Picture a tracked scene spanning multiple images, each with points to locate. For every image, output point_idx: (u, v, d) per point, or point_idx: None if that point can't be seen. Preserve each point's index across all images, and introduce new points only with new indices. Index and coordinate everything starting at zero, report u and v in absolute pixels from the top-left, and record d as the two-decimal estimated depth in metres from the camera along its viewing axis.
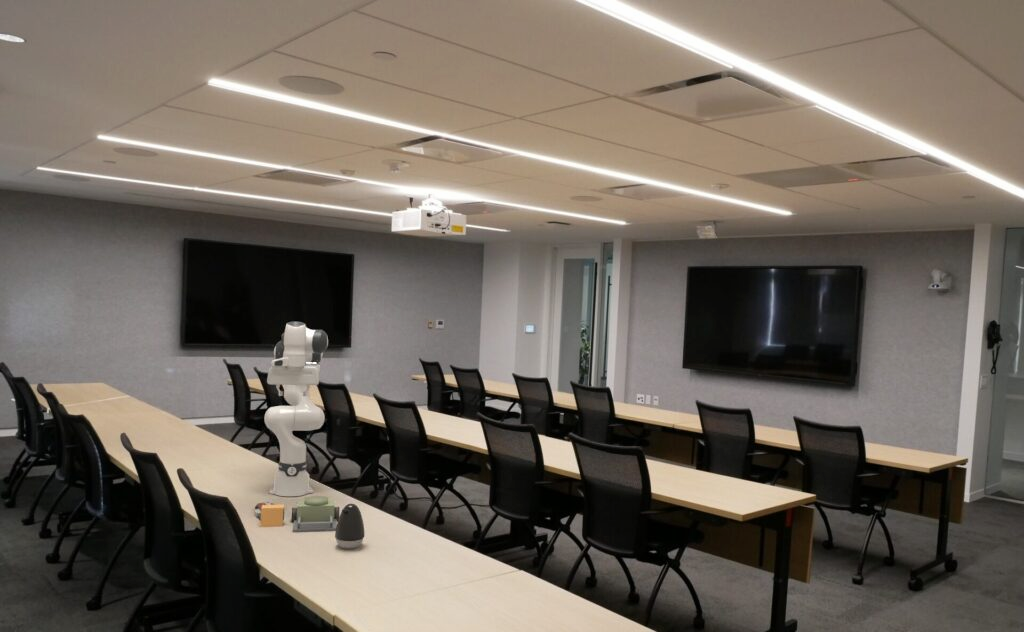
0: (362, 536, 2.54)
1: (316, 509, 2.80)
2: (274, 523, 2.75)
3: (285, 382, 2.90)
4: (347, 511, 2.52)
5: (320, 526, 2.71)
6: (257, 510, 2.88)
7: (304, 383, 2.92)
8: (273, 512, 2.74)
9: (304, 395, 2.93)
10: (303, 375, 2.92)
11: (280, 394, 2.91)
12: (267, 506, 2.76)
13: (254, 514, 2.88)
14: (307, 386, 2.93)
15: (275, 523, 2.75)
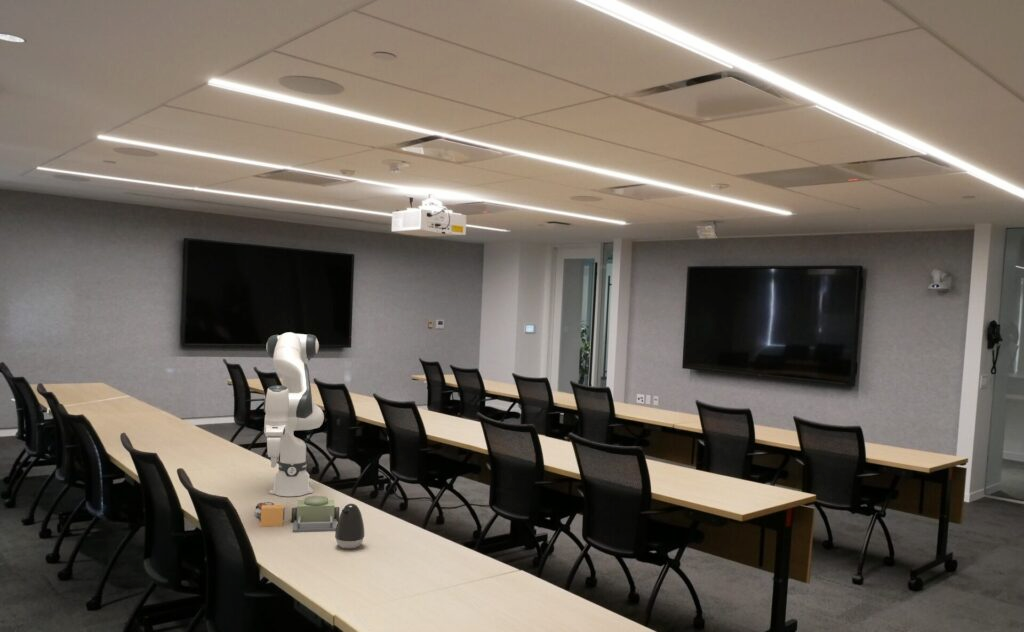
0: (362, 536, 2.54)
1: (316, 509, 2.80)
2: (274, 523, 2.75)
3: (279, 451, 2.74)
4: (347, 511, 2.52)
5: (320, 526, 2.71)
6: (257, 510, 2.88)
7: (281, 448, 2.81)
8: (273, 512, 2.74)
9: None
10: (280, 440, 2.81)
11: None
12: (267, 506, 2.76)
13: None
14: None
15: (275, 523, 2.75)
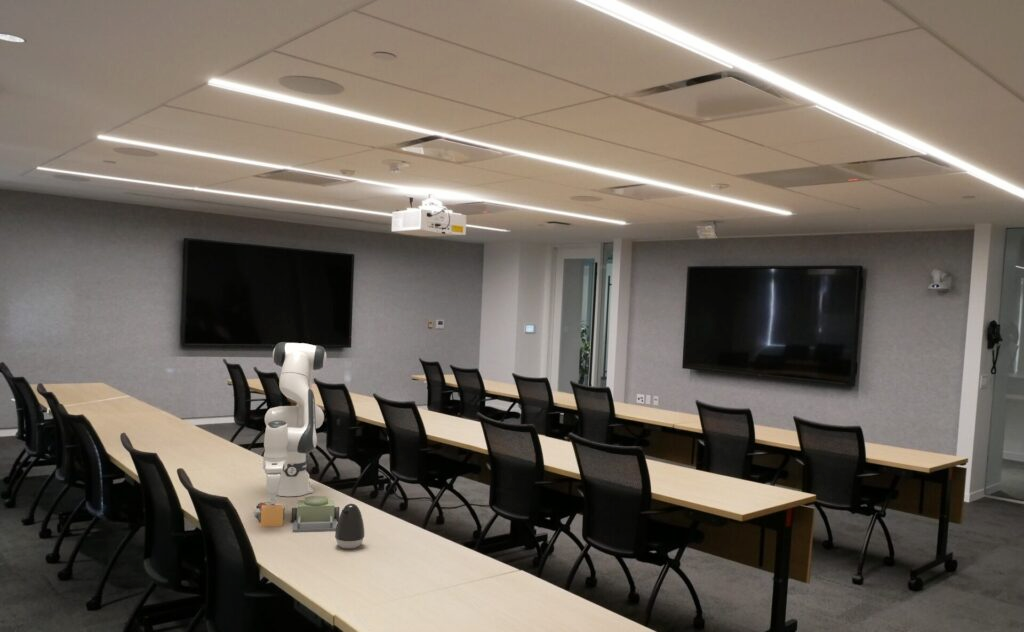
0: (362, 536, 2.54)
1: (316, 509, 2.80)
2: (274, 523, 2.75)
3: None
4: (347, 511, 2.52)
5: (320, 526, 2.71)
6: (257, 510, 2.88)
7: None
8: (273, 512, 2.74)
9: (276, 496, 2.81)
10: None
11: None
12: (267, 506, 2.76)
13: (254, 513, 2.88)
14: None
15: (275, 523, 2.75)
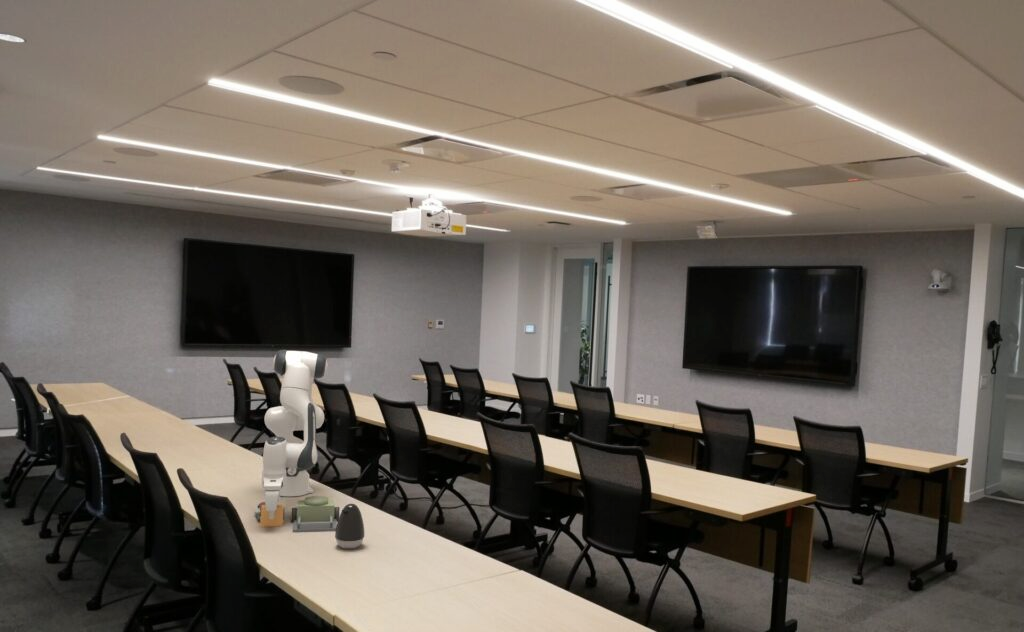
0: (362, 536, 2.54)
1: (316, 509, 2.80)
2: (274, 522, 2.75)
3: (277, 503, 2.74)
4: (347, 511, 2.52)
5: (320, 526, 2.71)
6: (257, 509, 2.88)
7: None
8: None
9: None
10: None
11: None
12: None
13: (254, 513, 2.88)
14: None
15: (275, 523, 2.75)
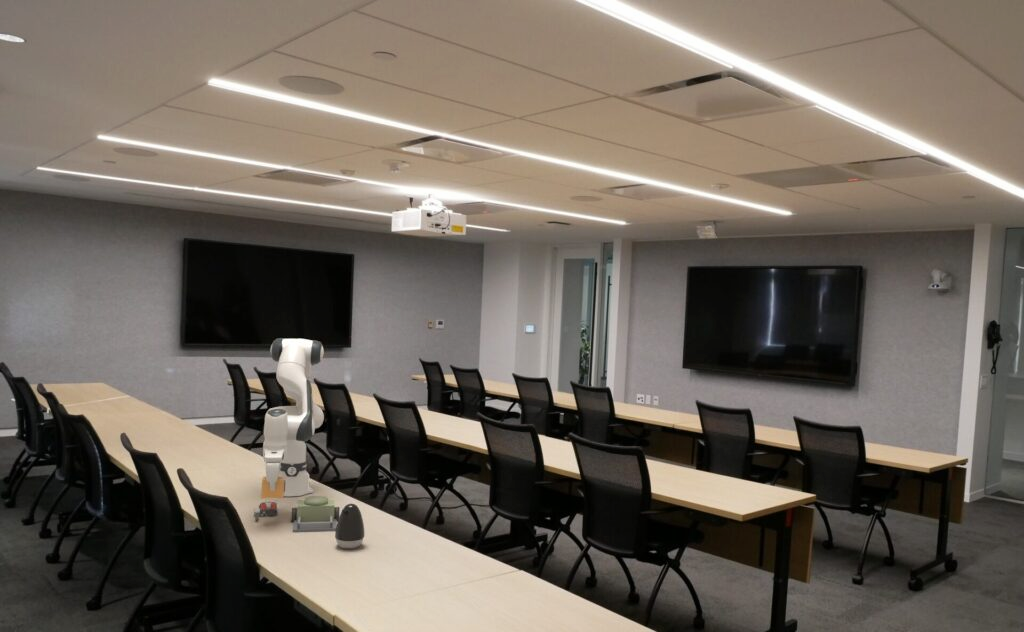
0: (362, 536, 2.54)
1: (316, 509, 2.80)
2: (275, 494, 2.75)
3: (278, 475, 2.74)
4: (347, 511, 2.52)
5: (320, 526, 2.71)
6: (257, 509, 2.89)
7: (279, 471, 2.81)
8: None
9: None
10: None
11: (274, 488, 2.74)
12: None
13: None
14: None
15: (276, 494, 2.75)
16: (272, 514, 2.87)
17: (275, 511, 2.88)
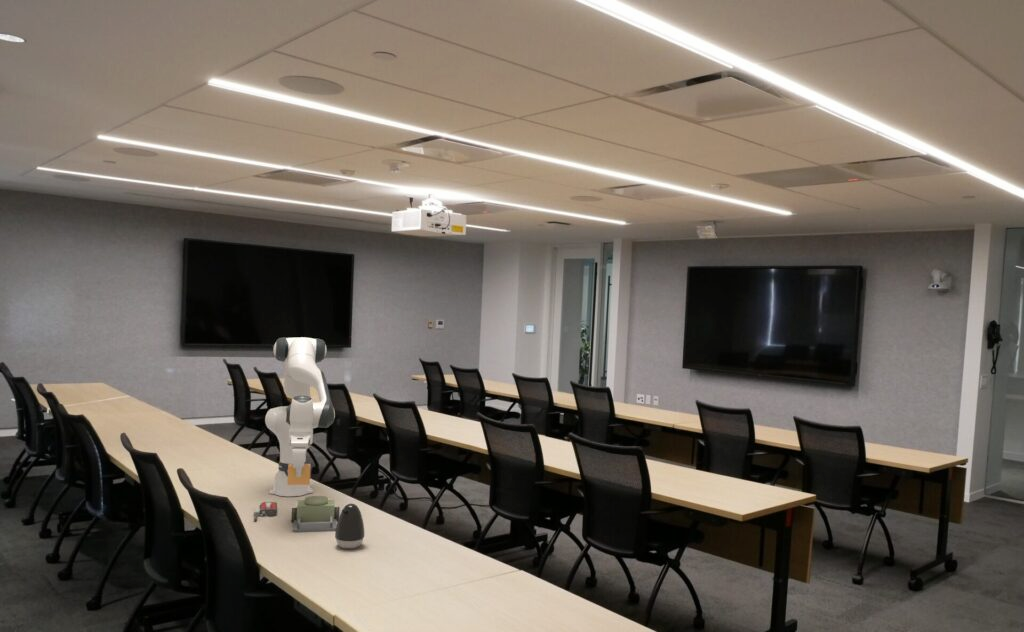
0: (362, 536, 2.54)
1: (316, 509, 2.80)
2: (301, 481, 2.74)
3: None
4: (347, 511, 2.52)
5: (320, 526, 2.71)
6: (257, 509, 2.89)
7: None
8: None
9: None
10: None
11: None
12: None
13: None
14: None
15: (302, 481, 2.74)
16: (271, 514, 2.87)
17: (274, 511, 2.88)
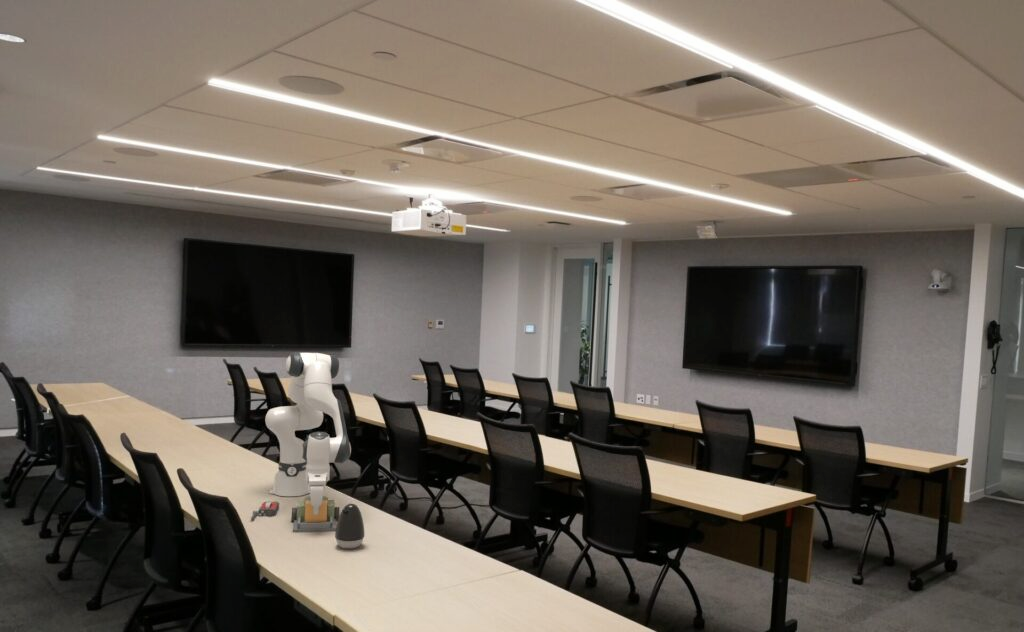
0: (362, 536, 2.54)
1: None
2: (318, 518, 2.73)
3: None
4: (347, 511, 2.52)
5: (320, 526, 2.71)
6: (257, 508, 2.90)
7: None
8: None
9: None
10: None
11: None
12: None
13: None
14: None
15: (319, 518, 2.73)
16: (270, 514, 2.87)
17: (273, 511, 2.88)
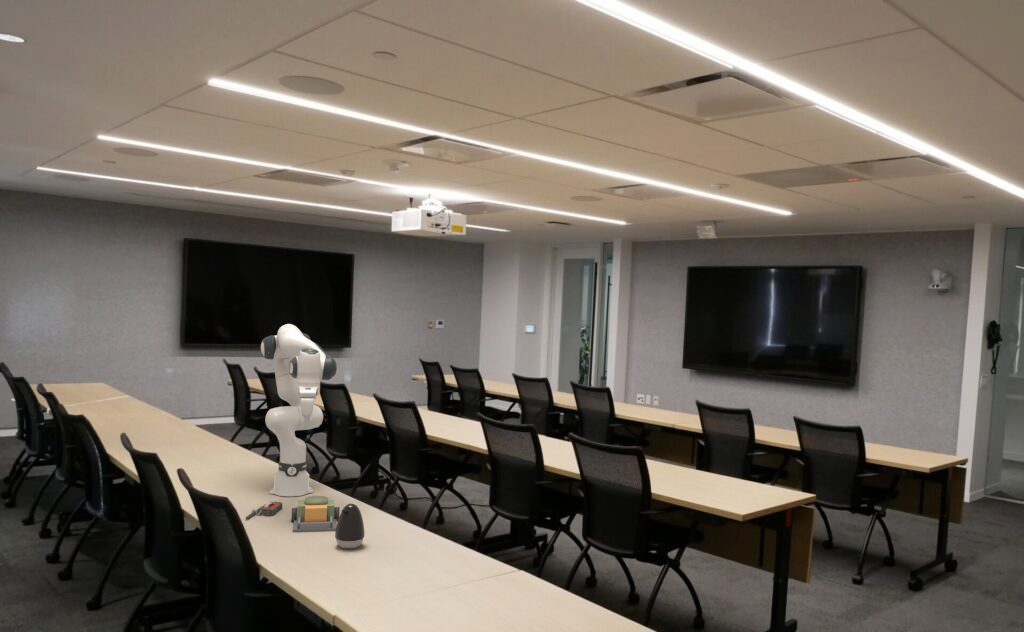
0: (362, 536, 2.54)
1: None
2: None
3: None
4: (347, 511, 2.52)
5: (320, 526, 2.71)
6: (258, 507, 2.91)
7: None
8: (317, 512, 2.73)
9: None
10: None
11: (308, 425, 2.81)
12: (311, 506, 2.75)
13: None
14: None
15: None
16: (267, 514, 2.87)
17: (271, 511, 2.87)
